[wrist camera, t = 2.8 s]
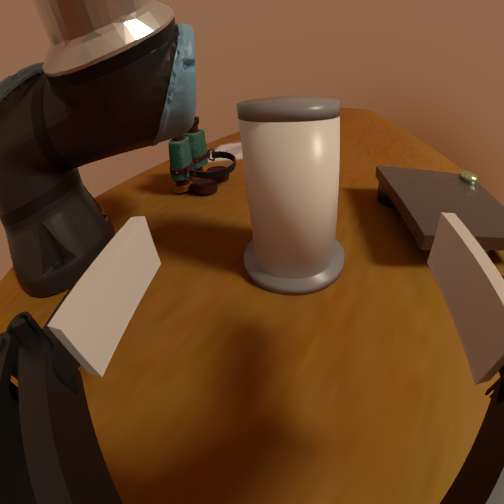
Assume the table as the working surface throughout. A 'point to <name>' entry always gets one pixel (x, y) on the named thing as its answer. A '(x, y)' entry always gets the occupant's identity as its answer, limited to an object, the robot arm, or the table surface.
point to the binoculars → (196, 163)
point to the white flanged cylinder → (292, 192)
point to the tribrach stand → (441, 204)
